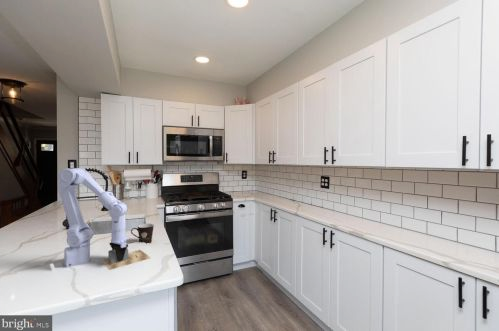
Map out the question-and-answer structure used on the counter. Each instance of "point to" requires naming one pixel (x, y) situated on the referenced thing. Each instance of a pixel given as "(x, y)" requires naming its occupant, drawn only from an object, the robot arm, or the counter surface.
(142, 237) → the coffee mug
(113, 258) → the sanding block
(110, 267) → the oak board
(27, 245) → the counter surface
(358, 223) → the counter surface
